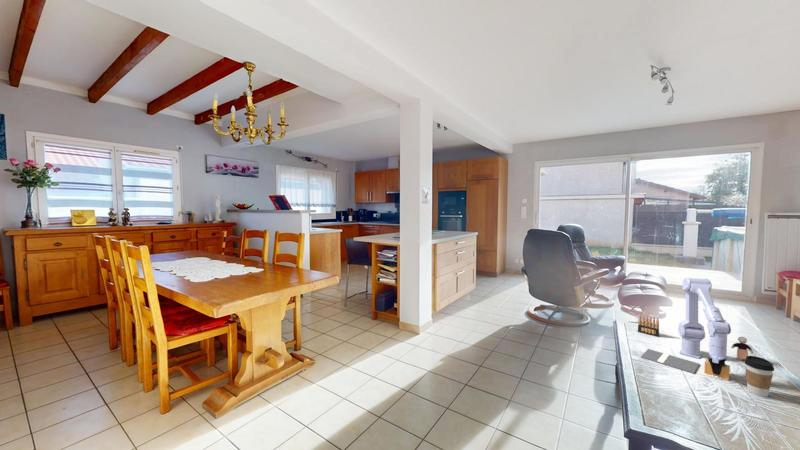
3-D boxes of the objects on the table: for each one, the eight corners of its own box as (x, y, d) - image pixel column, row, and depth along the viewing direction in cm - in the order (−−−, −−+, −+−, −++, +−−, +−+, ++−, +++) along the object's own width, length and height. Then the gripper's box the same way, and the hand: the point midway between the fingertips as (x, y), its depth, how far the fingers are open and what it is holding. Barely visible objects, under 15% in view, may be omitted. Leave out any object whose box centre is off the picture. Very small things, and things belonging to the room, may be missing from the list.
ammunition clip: (659, 336, 188) (659, 318, 188) (658, 337, 187) (659, 318, 186) (638, 331, 197) (638, 313, 196) (637, 331, 195) (638, 314, 195)
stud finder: (705, 370, 149) (706, 358, 148) (729, 377, 142) (729, 365, 142) (704, 373, 146) (704, 361, 146) (728, 380, 140) (728, 368, 140)
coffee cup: (762, 389, 133) (764, 356, 132) (779, 400, 125) (780, 366, 124) (737, 385, 136) (739, 354, 135) (752, 396, 128) (754, 363, 127)
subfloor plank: (648, 349, 171) (648, 348, 171) (699, 364, 154) (699, 363, 154) (640, 357, 162) (640, 356, 162) (694, 374, 146) (694, 372, 146)
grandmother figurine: (750, 360, 157) (751, 337, 157) (753, 363, 154) (754, 339, 154) (729, 356, 162) (730, 333, 161) (732, 359, 159) (733, 336, 158)
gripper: (728, 353, 136) (727, 381, 137) (732, 344, 145) (730, 370, 145) (706, 347, 142) (705, 374, 142) (711, 339, 150) (710, 364, 151)
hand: (716, 372), depth 144 cm, fingers closed on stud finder, 4 cm apart
